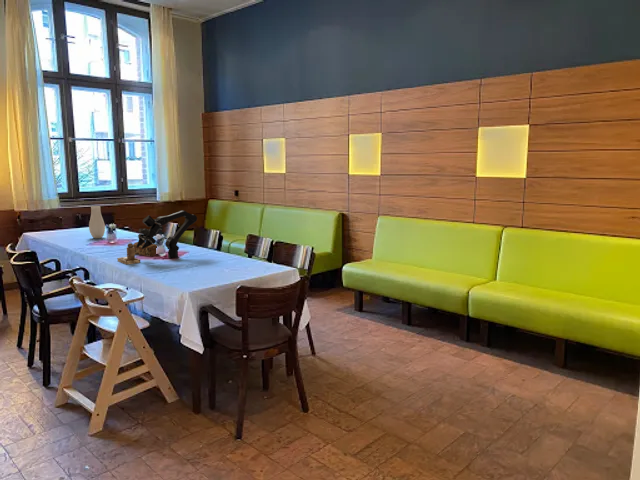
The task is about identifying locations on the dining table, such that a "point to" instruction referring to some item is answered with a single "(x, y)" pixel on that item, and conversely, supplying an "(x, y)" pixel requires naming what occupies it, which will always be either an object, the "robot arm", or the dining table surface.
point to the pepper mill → (130, 252)
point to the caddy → (128, 261)
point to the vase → (96, 223)
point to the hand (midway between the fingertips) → (139, 247)
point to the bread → (145, 249)
